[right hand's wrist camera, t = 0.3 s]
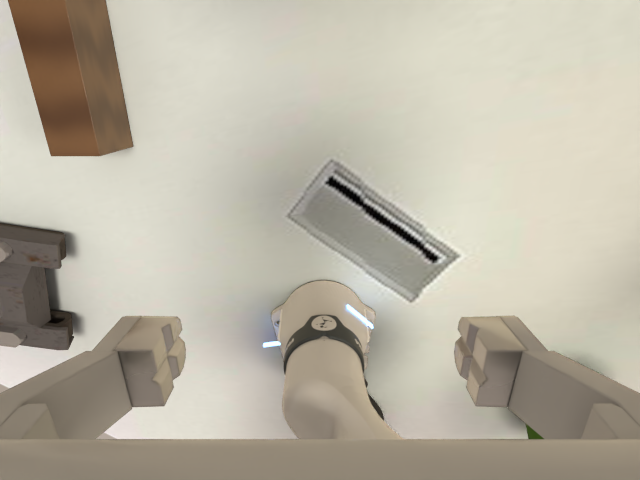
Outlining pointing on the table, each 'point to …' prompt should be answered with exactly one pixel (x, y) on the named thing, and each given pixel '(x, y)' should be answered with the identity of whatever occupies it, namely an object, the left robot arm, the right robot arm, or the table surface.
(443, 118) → the table surface
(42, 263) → the toy
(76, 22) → the box
